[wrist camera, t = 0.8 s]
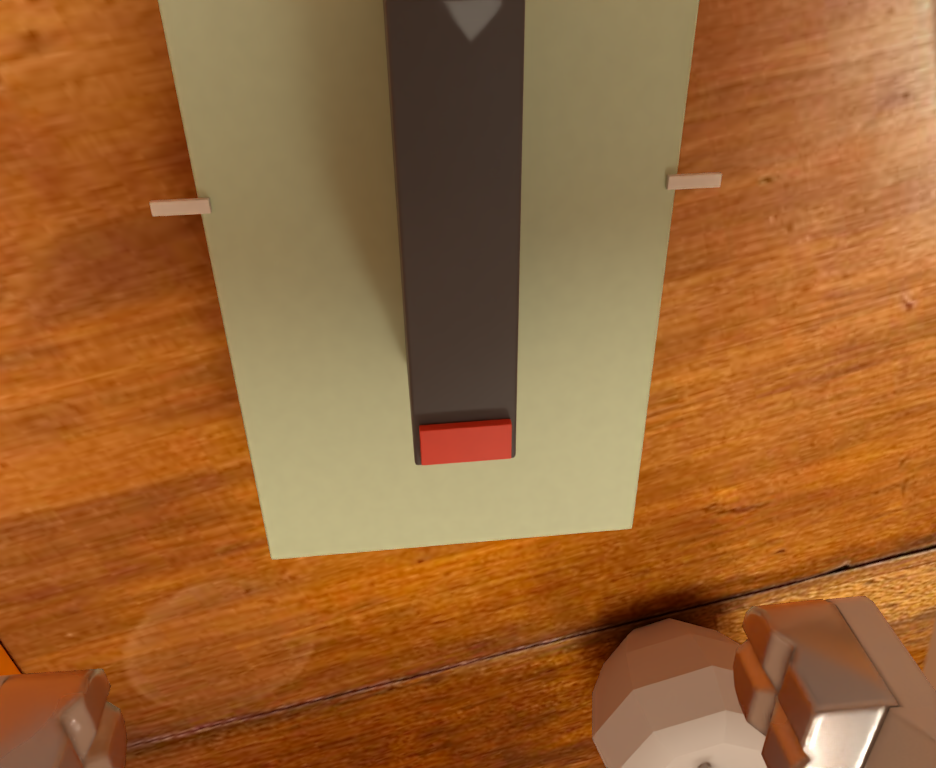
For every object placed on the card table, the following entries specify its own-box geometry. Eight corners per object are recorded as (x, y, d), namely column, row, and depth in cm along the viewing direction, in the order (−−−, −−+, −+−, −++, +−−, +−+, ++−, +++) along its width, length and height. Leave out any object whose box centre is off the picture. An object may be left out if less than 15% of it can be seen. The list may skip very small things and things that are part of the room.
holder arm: (380, -31, 17) (385, 0, 13) (491, -34, 17) (528, -5, 14) (406, 367, 23) (415, 473, 19) (491, 361, 23) (517, 465, 19)
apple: (559, 708, 37) (592, 856, 31) (581, 586, 33) (625, 731, 27) (726, 698, 38) (787, 840, 32) (768, 578, 34) (847, 717, 28)
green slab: (110, -141, 18) (66, -142, 16) (718, -151, 19) (774, -154, 17) (247, 502, 29) (235, 567, 26) (639, 471, 30) (666, 530, 27)
